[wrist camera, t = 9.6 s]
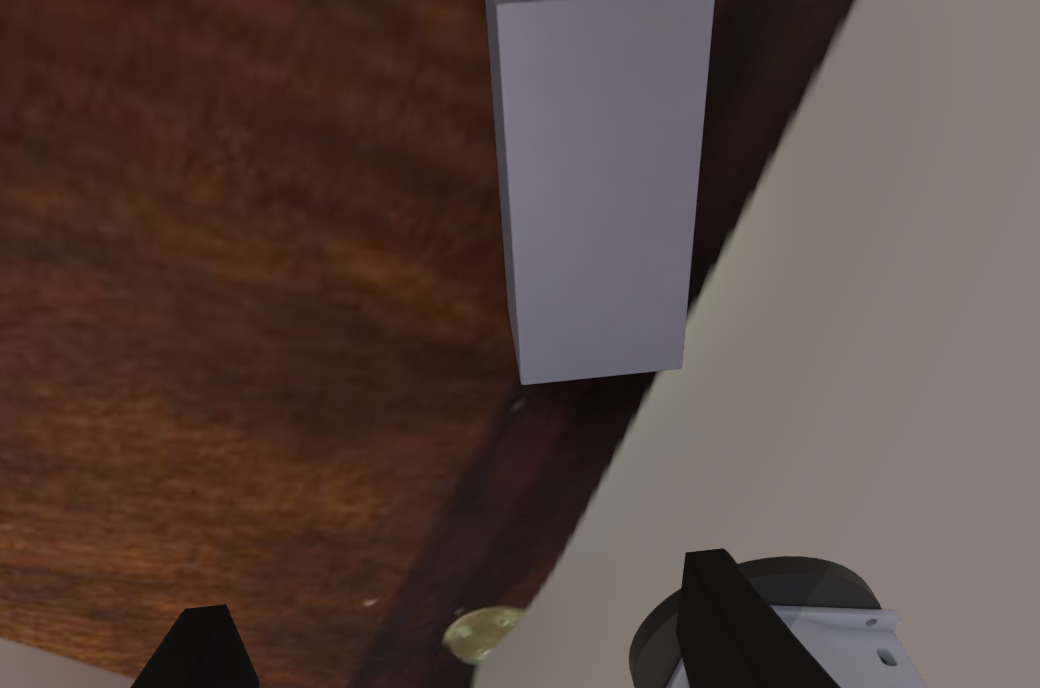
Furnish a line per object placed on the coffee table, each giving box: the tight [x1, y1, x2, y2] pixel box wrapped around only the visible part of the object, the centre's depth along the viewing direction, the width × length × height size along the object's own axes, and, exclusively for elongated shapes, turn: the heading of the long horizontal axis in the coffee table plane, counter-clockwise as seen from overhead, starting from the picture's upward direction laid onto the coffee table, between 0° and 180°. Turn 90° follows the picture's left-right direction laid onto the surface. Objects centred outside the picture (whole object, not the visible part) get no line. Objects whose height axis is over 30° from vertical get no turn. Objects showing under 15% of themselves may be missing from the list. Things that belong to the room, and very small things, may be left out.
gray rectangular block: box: [485, 0, 714, 385], centre depth 15 cm, size 8×4×4 cm, turn 3°
